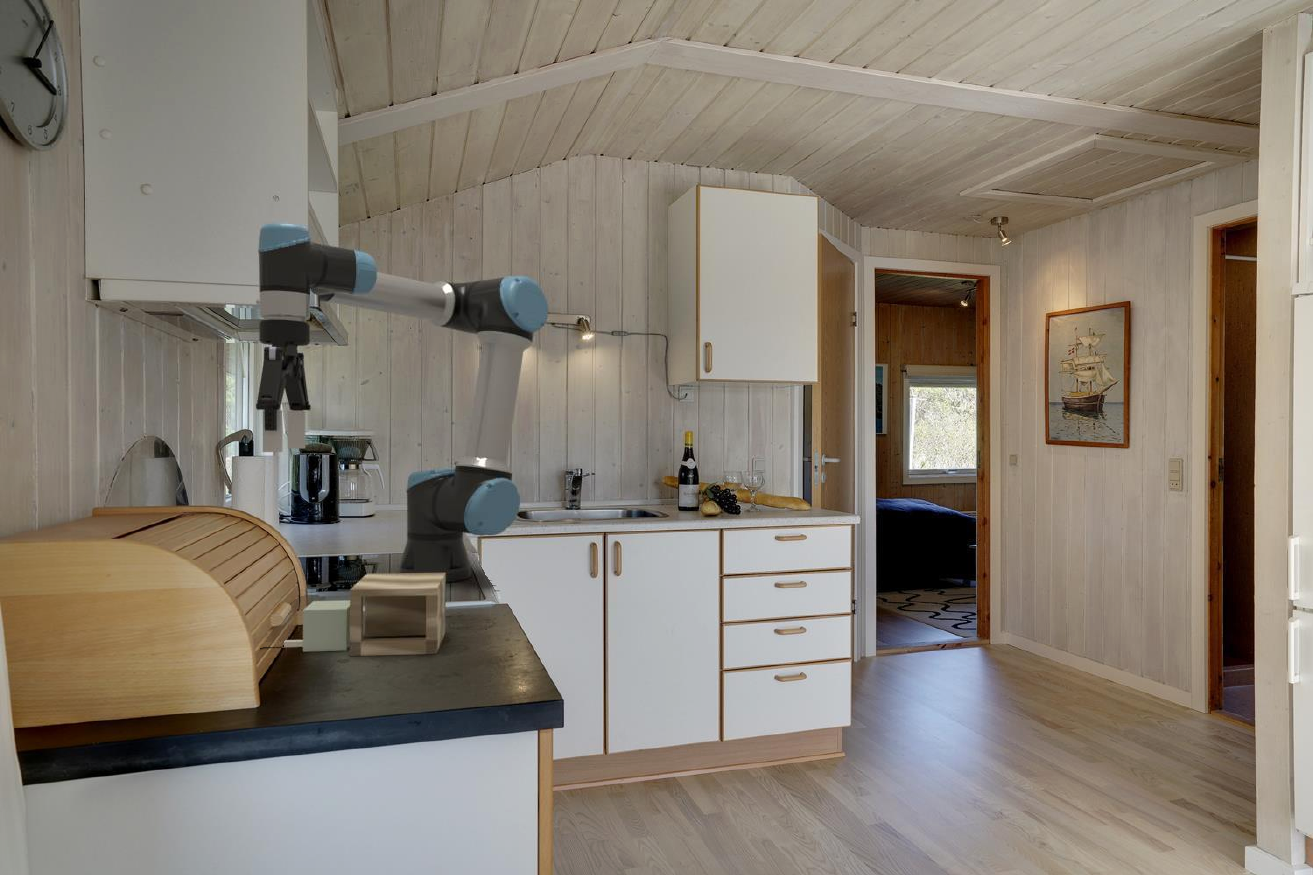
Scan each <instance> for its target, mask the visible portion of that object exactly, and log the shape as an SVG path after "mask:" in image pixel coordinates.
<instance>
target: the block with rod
mask: <svg viewBox="0 0 1313 875" xmlns="http://www.w3.org/2000/svg"><path fill="white" fill-rule="evenodd" d="M284 640H285V639H284ZM300 647H301V648H302V652H328V651H330V652H333V651H335V652H336V651H348V649H349V648H350V599H349V600H313V601H312V602H311V603H309V604H308V605H307V606H306V607H305V608H303V610H302V639H287V640H285V641H284V647H283V648H300Z"/></svg>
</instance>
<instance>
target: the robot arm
mask: <svg viewBox="0 0 1313 875" xmlns="http://www.w3.org/2000/svg"><path fill="white" fill-rule="evenodd" d="M310 235H311V234H310V231H309V229H308V228H307V227H305V226H301V225H300V224H295V223H290V222H269V223H266V224H263V225H262V226H261V228H260V230H259V238H258V249H257V254H258V268H259V270H258V271H259V272H258V274H259V276H258V278H259V283H258V284H259V298H257V299H256V301H255V303H256V305H257V306H259V317H261V318H263V319H262V320H260V321H259V327H258V328H259V330H258V332H259V333H258V334H259V337H258V338H259V342H260V343H261V344H263V345H268V346H264V348H263V363H262V369H261V370H262V371H261V377H260V383H259V389H258V395H257V401H256V402H257V403H255V409H256V410H257V411H259V410H260V411H262V453H283V409H281V405H282V400H283V396H284V394H285V393H286V399H287V403H288V407H289V410H287V449H306V411H310V410H311V409H312V408H311V404H310V401H309V395H308V394H309V393H308V387H307V386H308V385H307V380H306V372H305V359H304V357H305V355H304V353H303V352H298V347H300V346H303V347H304V346H305V347H306V346H308V345H309V344H310V342H311V340H310V336H311V334H310V333H311V331H310V329H311V328H310V327H311V326H310V324H309V323H308V322H307V321H308V320H309V319H310V318H311V302H310V300H311V299H310V289H311V291H312V292H313V293H314V294H316V295H319V296H320V301H319V302H325V303H331V304H338V305H342V306H348V307H355V308H359V309H366V310H372V311H377V312H381V313H382V312H383V313H388V314H392V315H393V314H394V315H399V316H405V317H410V318H411V317H412V318H416V319H421V320H422V319H423V320H428V322H429V323H430V324H431V325H433V326H435V327H440V328H444V329H445V328H446V329H450V330H455V331H459V332H464V333H468V334H474V335H476V337H477V339H478V340H479V342H480V343H481V345H482V346H481V352H480V358H479V364H478V371H477V377H476V383H475V389H474V396H473V402H472V409H471V413H470V414H471V416H470V420H469V421H470V422H469V426H468V427H469V429H468V435H467V440H466V446H465V454H464V457H463V459H461V460H459V461H458V462H457V463H456V464H455V466H454V468H451V467H450V468H440V469H439V468H438V469H427V470H417V471H414V472H412V473H410V474H409V475H408V478H407V486H406V510H407V511H406V544H405V547H404V550H403V552H402V555H401V558H400V561H399V564H398V568H397V569H398V570H397V573H446V583H451V582H458V581H462V580H465V579H468V578H470V577H471V576H472V564H471V562H470V561H471V560H470V558H469V554H468V552H467V549H466V546H465V542H464V533H465V534H470V535H471V534H472V535H475V536H479V537H480V536H496V535H499V534H501V533H503V532H505V531H506V529H507V528H510V527H511V526H512V525H513V523H514V521H515V520H516V519H517V515H518V513H519V511H520V507H521V496H520V493H519V492H518V487H517V485H516V484H515V483H514V482H513V481H512V480H513V471H512V469H511V468H510V466H509V465H508V463H507V462H508V457H509V451H510V450H509V449H510V443H511V438H512V437H511V436H512V429H513V423H514V419H515V418H514V416H515V412H516V403H517V397H518V391H519V384H520V378H521V371H522V370H521V369H522V364H523V357H524V353H525V351H526V350H527V349H529V348H530V347H532V345H533V339H534V333H536V332H538V331H540V330H541V329H542V327H544V326H545V325H546V323H547V320H548V316H549V304H548V300H547V297H546V294H545V293H544V292H543V289H542V287H541V286H540V285H539V283H537V282H536V281H535V280H534V279H532V278H530V277H527V276H525V275H508V276H505V277H498V278H491V279H484V280H483V279H482V280H475V281H474V280H473V281H467V282H448V281H443V280H440V281H436V282H435V283H430V282H425V281H421V280H416V279H411V278H406V277H403V276H397V275H392V274H389V273H383V272H381V271H380V272H379V271H378V268H377V263H376V261H375V259H374V258H373V256H371V255H370V254H369V253H367V252H364V251H363V252H362V251H361V250H360V251H359V250H356V249H355V248H352V249H351V248H345V247H338V246H332V245H326V244H321V243H317V242H313V241H311V236H310ZM280 409H281V410H280Z"/></svg>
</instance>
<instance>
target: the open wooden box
mask: <svg viewBox="0 0 1313 875" xmlns="http://www.w3.org/2000/svg"><path fill="white" fill-rule="evenodd" d="M446 585H447V582H446V573H398V572H397V573H395V572H394V573H391V572H389V573H366V574H365V575H364V576H363V577H362V578H361V579H360V580H358V581H357V583H356V584H354V585H353V586H352V587H351V588H350V591H349V596H350V597H349V600H350V646H349V657H360V656H361V657H363V656H364V657H365V656H371V657H372V656H398V655H399V656H402V655H403V656H404V655H430V654H431V655H433V654H434V655H436V654H438V652H439V649H440V646H441V644H442V641H443V639H444V636H445V634H446V598H447V596H446V595H447V594H446V592H447V591H446V590H447V589H446V587H447V586H446ZM406 636H407V637H406ZM408 636H409V637H408ZM410 636H412V637H410ZM413 636H425V637H413ZM364 637H367V638H364ZM368 637H370V638H368ZM371 637H394V638H371Z"/></svg>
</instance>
